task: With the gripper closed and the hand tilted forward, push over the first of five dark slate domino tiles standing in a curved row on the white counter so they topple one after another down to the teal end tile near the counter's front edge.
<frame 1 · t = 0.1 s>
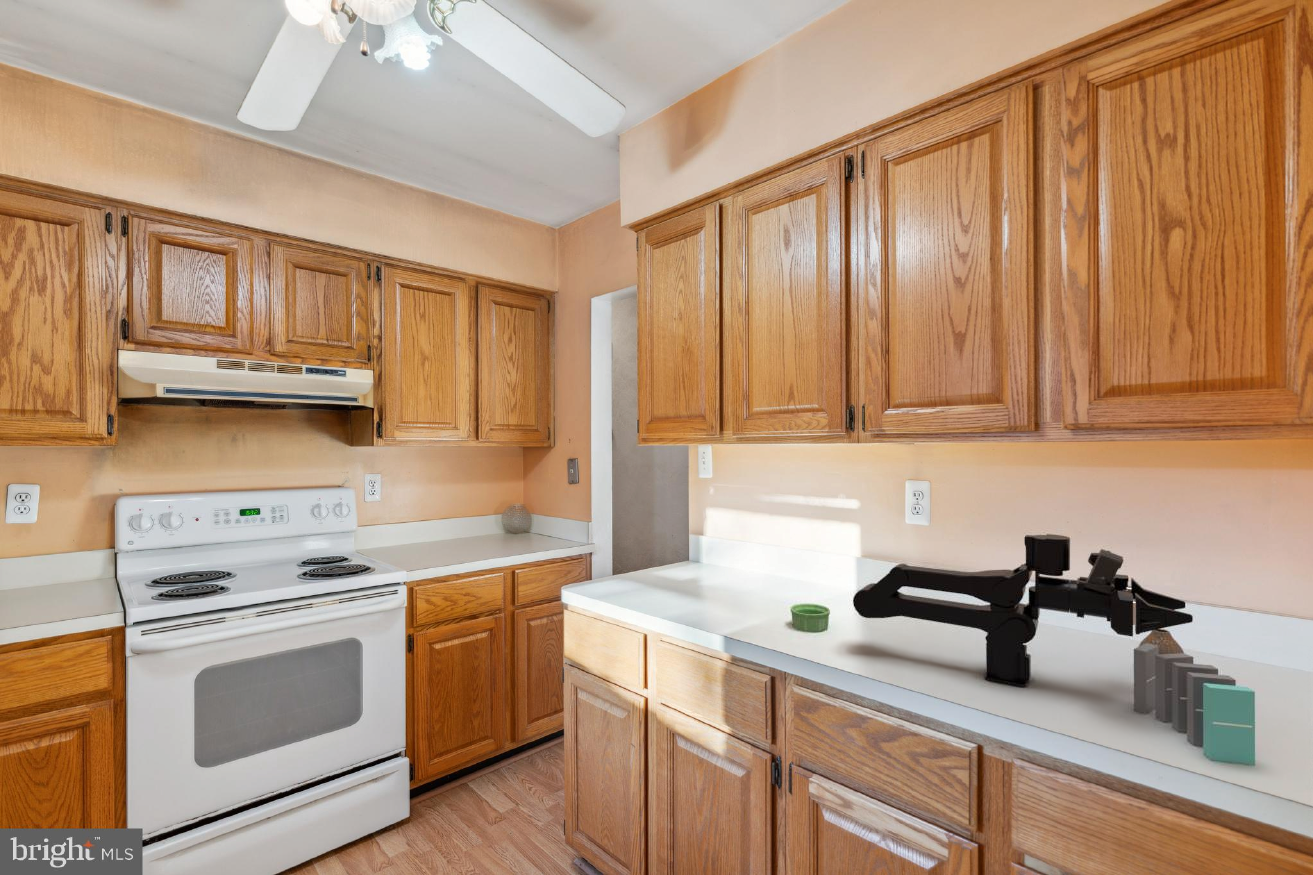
hand: (1188, 611, 96), 16 cm above the worktop, tool horizontal, fingers open, 9 cm apart
domino 3: (1195, 731, 91), on the worktop
vase: (1161, 679, 111), on the worktop
domino 5: (1228, 759, 83), on the worktop
ramekin: (810, 628, 142), on the worktop
domino 4: (1211, 745, 87), on the worktop
domino 1: (1146, 708, 99), on the worktop
domino 2: (1174, 719, 95), on the worktop
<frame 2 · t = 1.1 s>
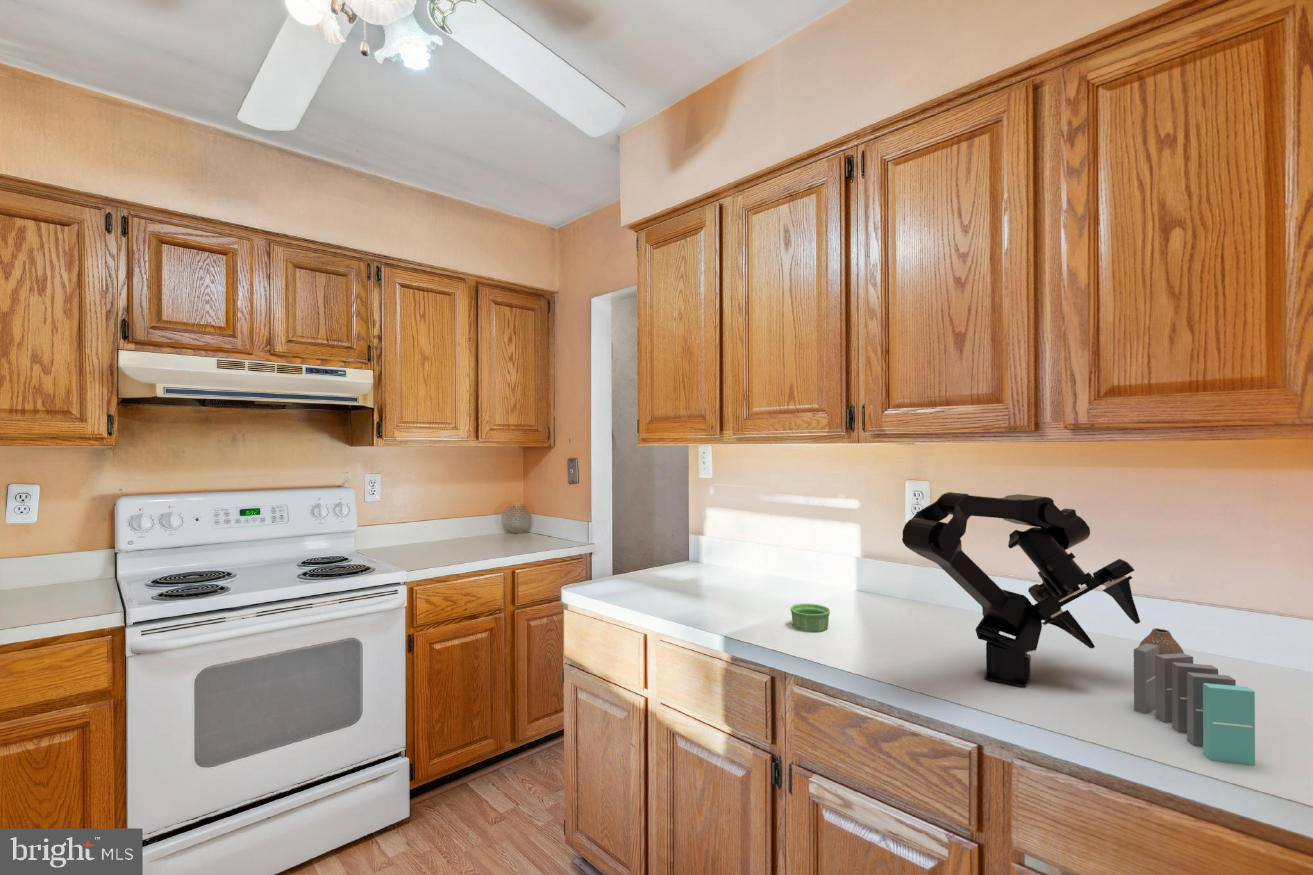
hand: (1115, 635, 105), 10 cm above the worktop, tool tilted 40°, fingers open, 9 cm apart
nothing on the worktop moved.
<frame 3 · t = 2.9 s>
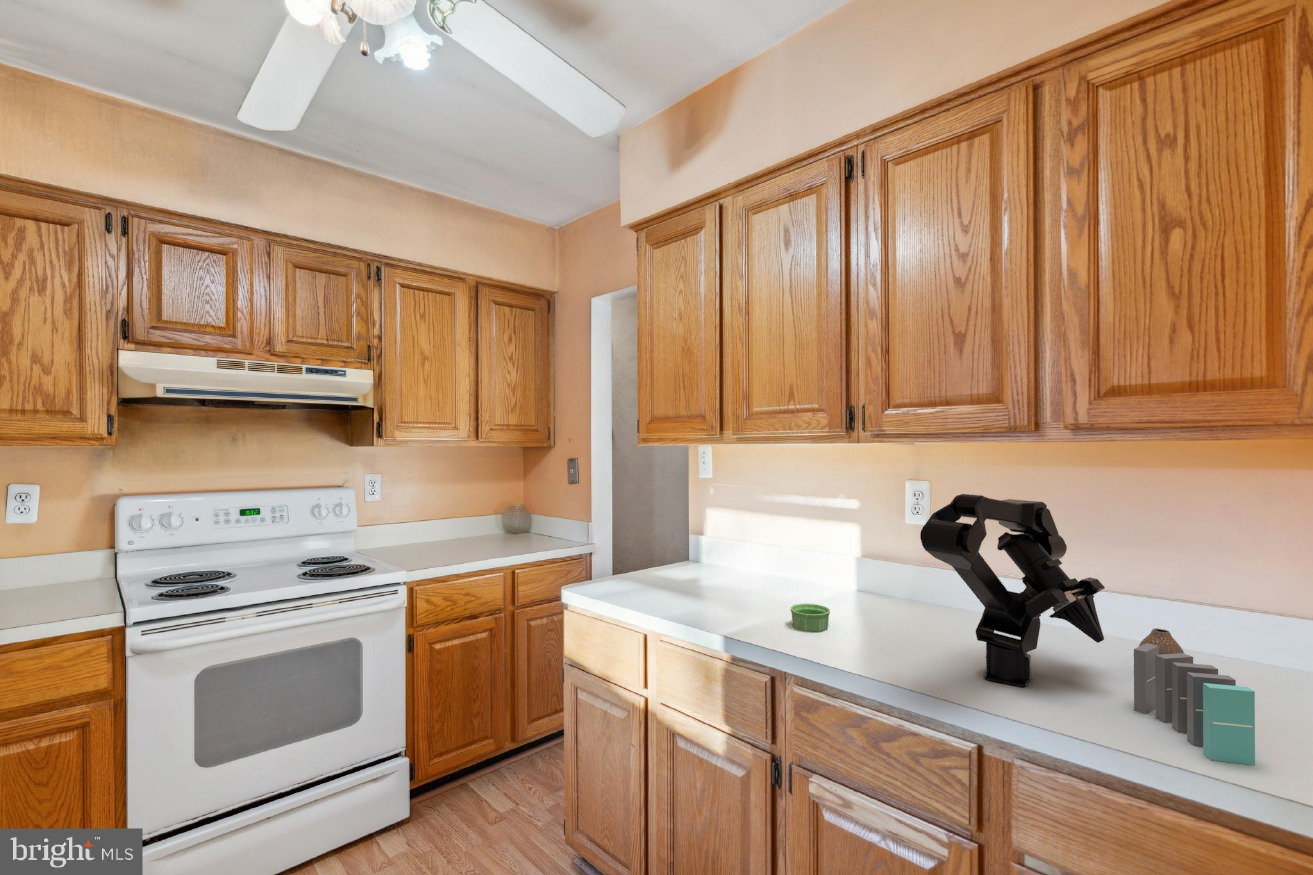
hand: (1101, 641, 105), 9 cm above the worktop, tool tilted 40°, fingers closed
nothing on the worktop moved.
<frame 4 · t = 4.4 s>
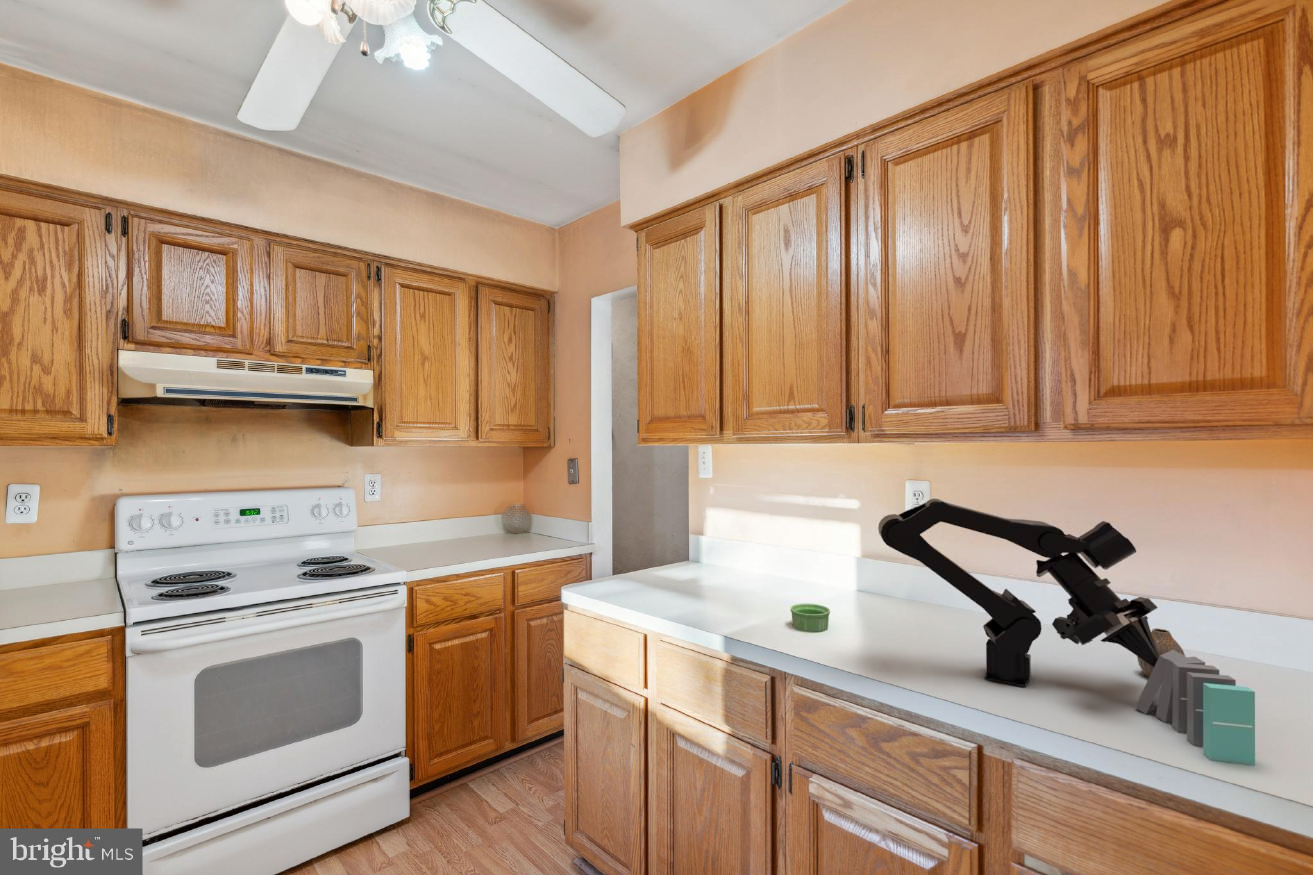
hand: (1159, 666, 98), 7 cm above the worktop, tool tilted 45°, fingers closed
domino 1: (1147, 706, 99), on the worktop, tilted 20°, touching gripper
domino 2: (1174, 718, 95), on the worktop, tilted 11°
everything else where it was.
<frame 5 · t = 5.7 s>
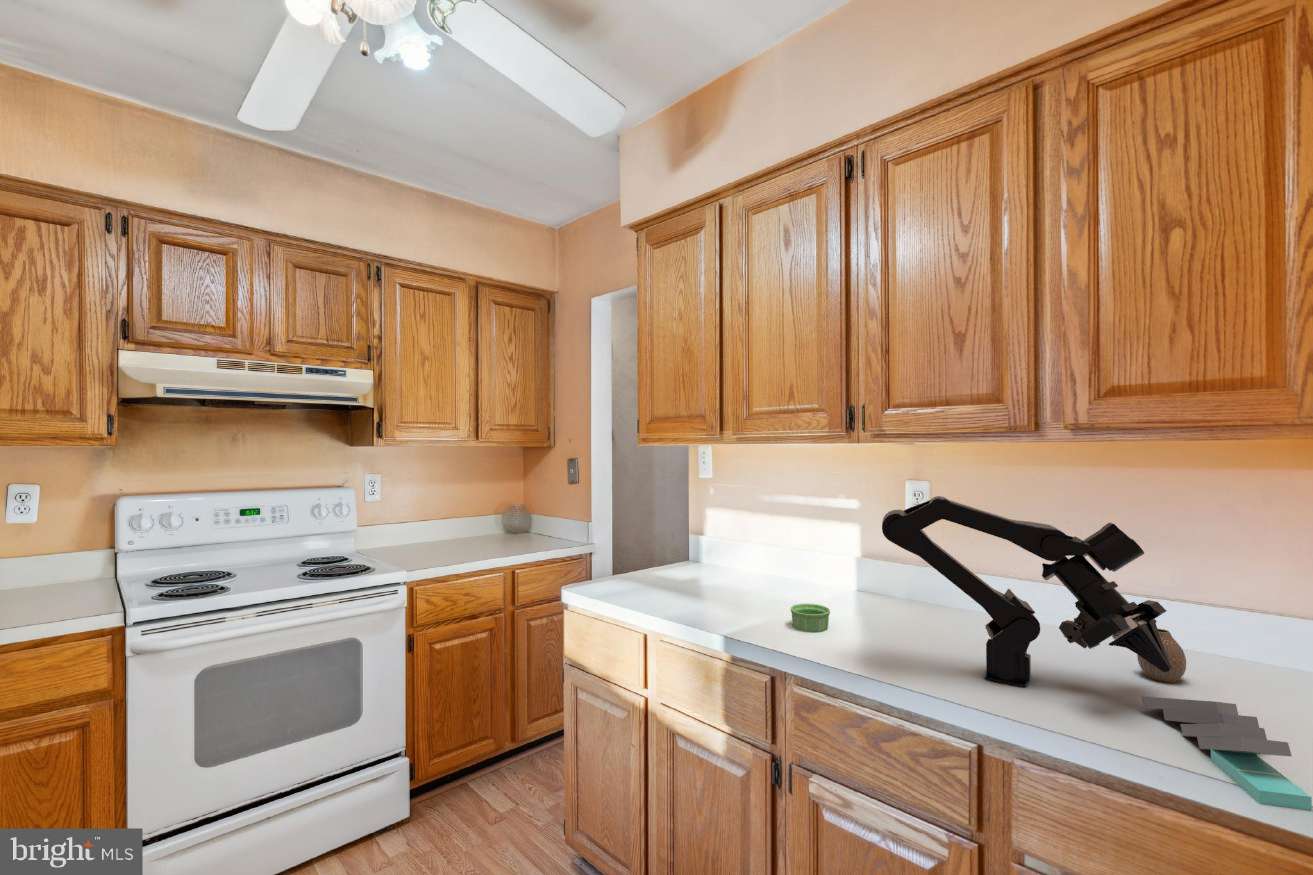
hand: (1168, 670, 96), 7 cm above the worktop, tool tilted 45°, fingers closed
domino 3: (1201, 732, 89), point 1 cm above the worktop, tilted 64°, touching domino 2, domino 4
domino 5: (1233, 757, 82), point 1 cm above the worktop, tilted 90°, touching domino 4
domino 4: (1219, 744, 85), point 1 cm above the worktop, tilted 64°, touching domino 3, domino 5
domino 1: (1152, 702, 98), point 1 cm above the worktop, tilted 73°, touching domino 2
domino 2: (1179, 715, 94), point 1 cm above the worktop, tilted 69°, touching domino 1, domino 3
everything else where it was.
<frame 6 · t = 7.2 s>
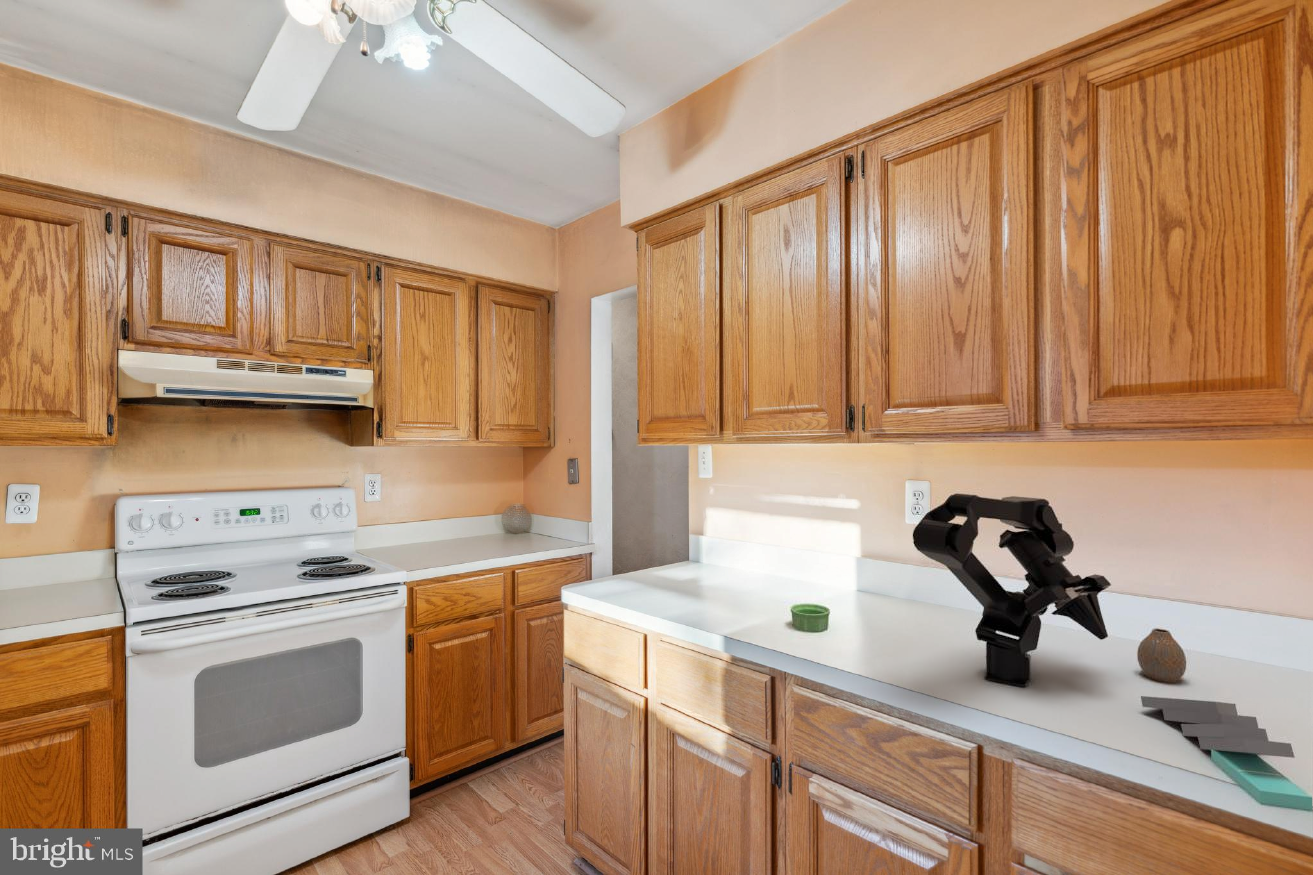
hand: (1104, 638, 103), 10 cm above the worktop, tool tilted 45°, fingers closed
domino 3: (1202, 731, 89), point 1 cm above the worktop, tilted 65°, touching domino 2, domino 4
domino 1: (1151, 702, 98), point 1 cm above the worktop, tilted 73°, touching domino 2
everything else where it was.
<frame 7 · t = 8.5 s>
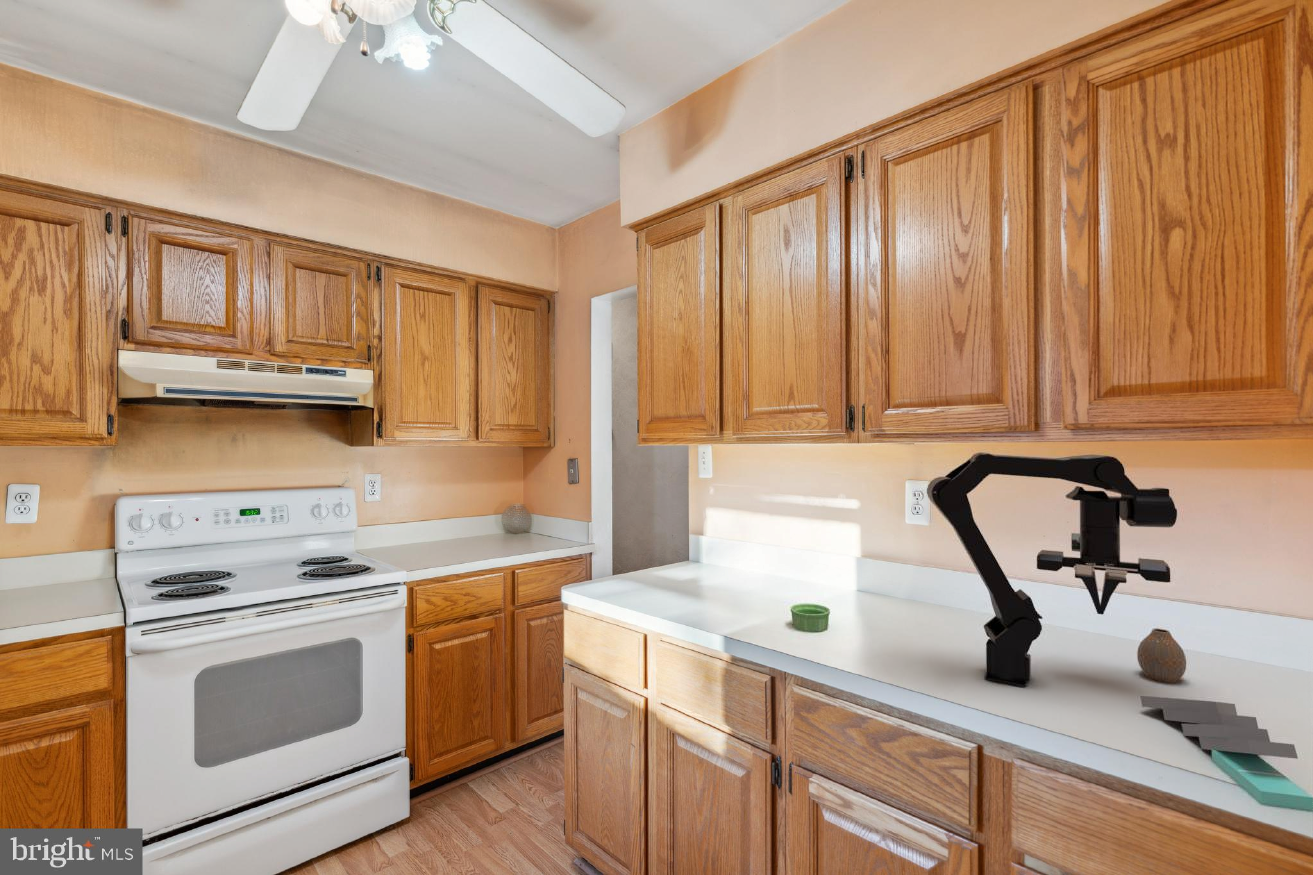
hand: (1100, 613, 107), 13 cm above the worktop, tool pointing down, fingers closed
domino 3: (1202, 731, 89), point 1 cm above the worktop, tilted 66°, touching domino 4
domino 2: (1179, 715, 94), point 1 cm above the worktop, tilted 69°, touching domino 1
everything else where it was.
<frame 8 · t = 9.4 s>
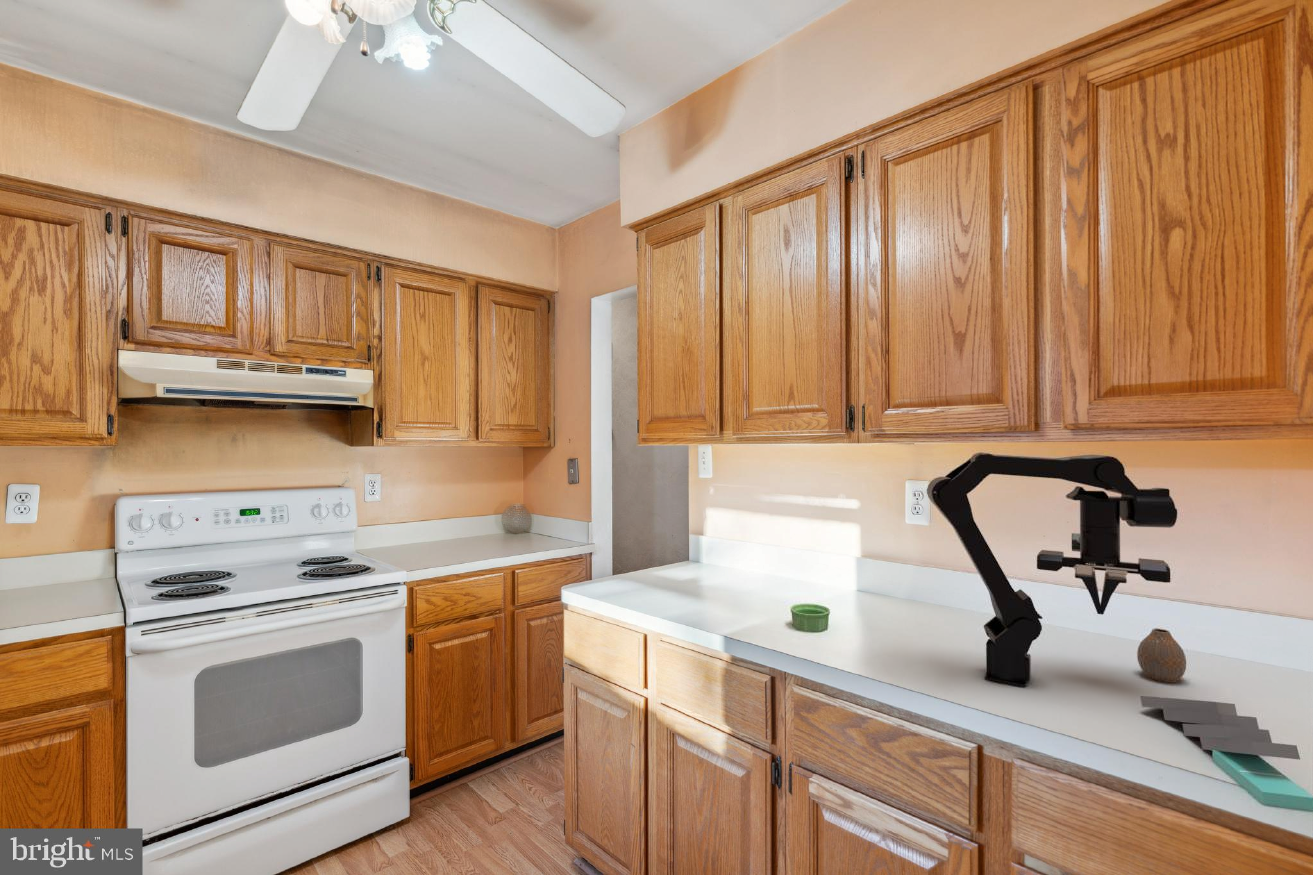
hand: (1100, 613, 107), 13 cm above the worktop, tool pointing down, fingers closed
domino 3: (1203, 731, 89), point 1 cm above the worktop, tilted 66°, touching domino 2, domino 4
domino 2: (1179, 715, 94), point 1 cm above the worktop, tilted 69°, touching domino 1, domino 3
everything else where it was.
at the end: domino 5 tilted 90°; domino 1 tilted 74° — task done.
